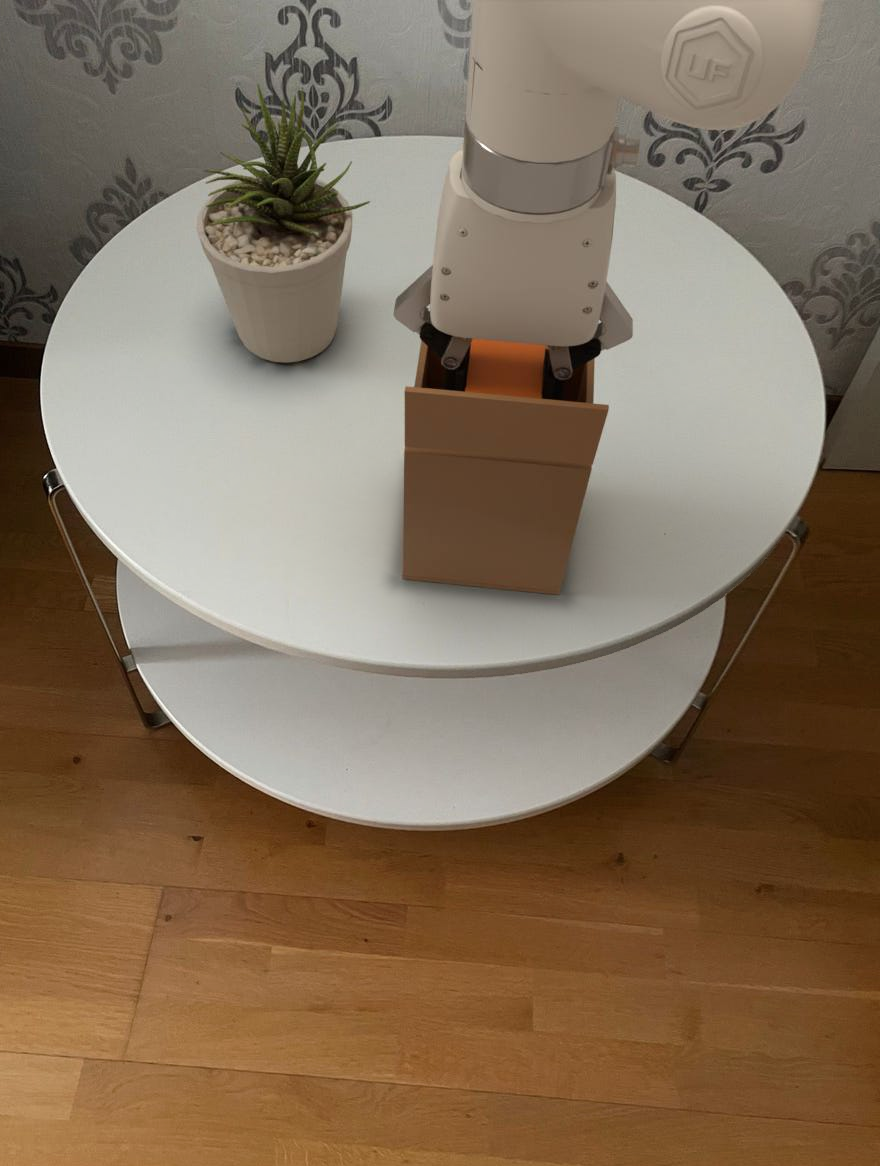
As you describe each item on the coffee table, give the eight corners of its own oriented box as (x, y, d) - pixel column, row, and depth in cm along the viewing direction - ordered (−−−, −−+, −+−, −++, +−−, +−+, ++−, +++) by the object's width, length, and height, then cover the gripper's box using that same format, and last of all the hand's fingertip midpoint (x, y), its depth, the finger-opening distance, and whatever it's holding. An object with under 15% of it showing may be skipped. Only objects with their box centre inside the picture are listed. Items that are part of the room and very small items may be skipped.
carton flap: (608, 404, 57) (608, 410, 57) (592, 459, 62) (592, 465, 62) (405, 385, 58) (404, 391, 57) (405, 442, 62) (404, 447, 62)
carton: (563, 483, 80) (595, 347, 68) (558, 595, 75) (591, 469, 62) (418, 469, 81) (422, 332, 68) (402, 579, 75) (404, 451, 63)
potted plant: (387, 360, 87) (385, 149, 70) (235, 394, 85) (195, 184, 68) (347, 271, 93) (337, 56, 76) (205, 300, 91) (161, 86, 74)
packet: (468, 364, 69) (471, 330, 66) (540, 370, 69) (545, 337, 66) (459, 444, 65) (462, 412, 62) (534, 451, 65) (540, 419, 62)
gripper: (697, 124, 52) (627, 376, 68) (381, 99, 53) (383, 354, 69) (703, 213, 49) (626, 458, 64) (362, 184, 49) (369, 433, 65)
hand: (501, 402), depth 66 cm, fingers closed on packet, 5 cm apart
